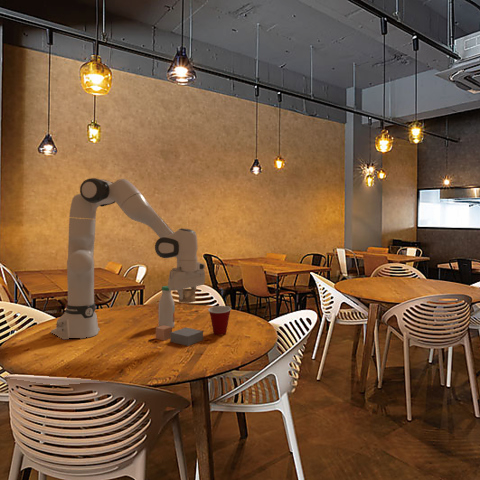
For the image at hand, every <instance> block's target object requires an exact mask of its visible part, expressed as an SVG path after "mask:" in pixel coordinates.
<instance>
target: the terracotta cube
mask: <svg viewBox="0 0 480 480" xmlns="http://www.w3.org/2000/svg"><path fill="white" fill-rule="evenodd" d="M171 332H173V328H172V327H170V326H165V325H163V326H159V325H158V326H156V327H155V339H156V340H161V341H166V340H170V333H171Z"/></svg>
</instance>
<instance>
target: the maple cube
mask: <svg viewBox="0 0 480 480" xmlns="http://www.w3.org/2000/svg"><path fill="white" fill-rule="evenodd" d="M182 293H183V295H185V299H182V300H181V299H179V298H178V303H185V304H191V303H194V302H196V291H195V290H192V289H191V288H186V289H183V292H182Z"/></svg>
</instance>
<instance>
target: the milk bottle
mask: <svg viewBox="0 0 480 480" xmlns="http://www.w3.org/2000/svg"><path fill="white" fill-rule="evenodd" d="M175 315H176V314H175V301H174V298H173V295H172V290H169V288H168V285H165V286H161V296H160V299H159V301H158V327H159V326H163V325H165V326H170V327H172V329H173V328H174V327H175Z"/></svg>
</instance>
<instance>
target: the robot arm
mask: <svg viewBox="0 0 480 480" xmlns="http://www.w3.org/2000/svg"><path fill="white" fill-rule="evenodd" d="M115 203H116V204H117V206H118V207H119V208H120V209H121V211H122V212H123V213H124V214H125V215H126V216H127V217H128V218H129V219H130V220H132V221H134V222H139V223H141V224H143V225H146V226H147V227H149V228H150V229H152V231H153V232H154V233H155V234H156V235H157V237H159V238H158V239H157V240H156V242H155V245H154V251H155V253H156V255H157V256H158V257H159V258H162V259H173V258H176V267H173V268H171V269H170V271H169V276H168V283H167V286H168V288H169V290H171V291H175V292H177V294H178V300H179V299H181V300H182V299H185V295H183V293H182V292H183V289H192V290H195V292H196V290H197V287H199V286H203V285H204V284H205V282H206V272H205V269H206V264H204V263H201V262H199V261H198V255H197V253H198V237H197V233H196V231H194V230H192V229H188V228H178V229H177V231H174V230H172V228H170V226H169V225H168V224H167V223H166V222H165V221H164V219H162V217H161V216H160V215H159V214H158V213H157V212H156V211H155V209H154V208H153V207H152V206H151V204H150V203H149V202H148V200H147V199H146V198H145V196H144V195H143V194H142V193H141V191H140V190H139V189H138V188H137V187H136V186H135V185H134V184H133V183H132V182H130V181H129V180H128V179H126V178H121V179H117V180H116V181H114V182H113V181H109V180H107V179H102V178H101V179H100V178H95V177H92V178H87V179H85V180H83V182H81V184H80V186H79V193H78V194H76V195H74V196H73V197H72V200H71V203H70V209H69V216H68V217H69V219H68V239H67V241H68V246H67V260H66V273H67V274H66V275H67V276H66V278H67V279H66V280H67V304H65V305H64V306H65V307H64V308H65V312H64V313H63V314H62V315H61V316H60V317H59V318H57V320H56V325H55V326H56V327H55V328H53V329H52V330H50V333H51V334H52V333H53V334H52V335H54V334H55V335H57V336H58V337H57V336H56V337H57V338H59V337H60V338H59V339H61V338H62V339H61V340H70V339H69V338H80V339H86V337H87V338H91V337H95V336H97V335H98V334H99V331H100V330H101V329H100V327H99V325H98V317H97V313H96V312H95V311H96V302H95V259H94V255H95V251H94V250H95V240H96V238H95V236H96V223H97V222H96V221H97V220H96V216H97V211H98V210H97V209H98V208H99V207H106V206H110V205H114V204H115ZM55 335H54V336H55Z"/></svg>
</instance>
